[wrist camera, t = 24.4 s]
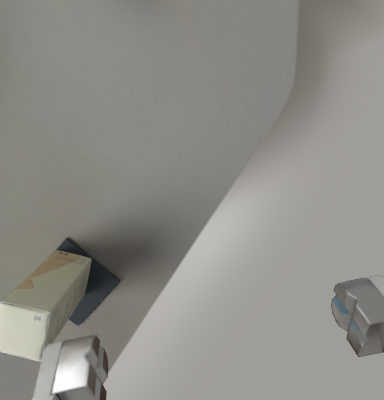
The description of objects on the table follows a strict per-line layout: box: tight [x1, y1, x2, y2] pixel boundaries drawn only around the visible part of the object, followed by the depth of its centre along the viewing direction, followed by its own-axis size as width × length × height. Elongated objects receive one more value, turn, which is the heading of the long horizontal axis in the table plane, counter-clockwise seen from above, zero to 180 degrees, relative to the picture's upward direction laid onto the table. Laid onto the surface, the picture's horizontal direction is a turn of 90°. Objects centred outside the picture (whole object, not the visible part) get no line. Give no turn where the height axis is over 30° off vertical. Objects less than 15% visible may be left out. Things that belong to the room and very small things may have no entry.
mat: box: [53, 238, 120, 326], centre depth 37 cm, size 8×8×1 cm
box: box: [0, 250, 92, 361], centre depth 31 cm, size 5×4×11 cm
